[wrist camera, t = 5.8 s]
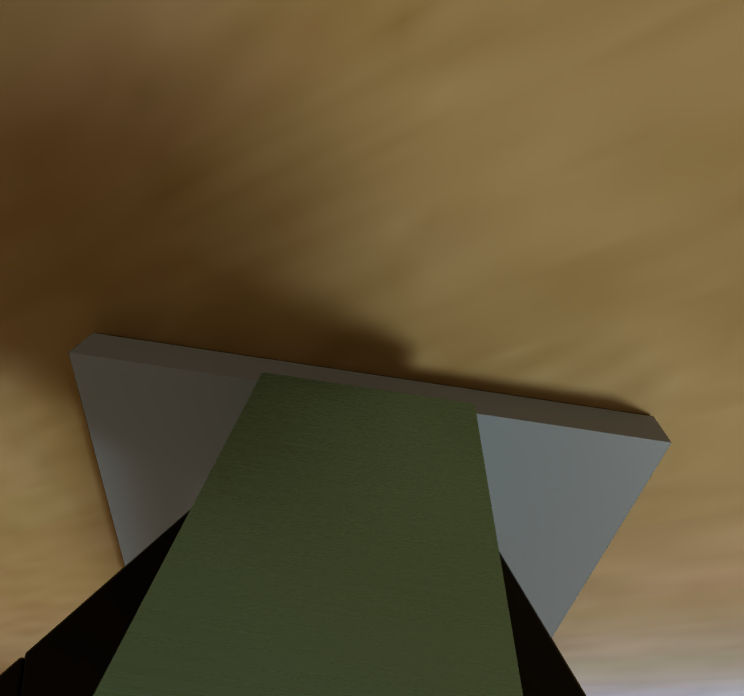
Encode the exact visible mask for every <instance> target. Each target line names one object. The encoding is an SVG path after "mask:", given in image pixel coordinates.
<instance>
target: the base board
mask: <svg viewBox="0 0 744 696" xmlns="http://www.w3.org/2000/svg"><path fill="white" fill-rule="evenodd" d="M69 356H70V360H71V364H72V367H73V371H74V375H75V379H76V383H77V386H78V390H79V394H80V398H81V401H82V405H83V409H84V413H85V417H86V420H87V424H88V428H89V432H90V435H91V439H92V443H93V447H94V451H95V454H96V458H97V462H98V466H99V470H100V473H101V477H102V481H103V485H104V488H105V492H106V496H107V500H108V504H109V507H110V511H111V515H112V519H113V522H114V526H115V530H116V534H117V538H118V541H119V545H120V549H121V553H122V556H123V560H124V564H125V566H126V565H127V564H128V563H129V562H130V561H132V560H133V559H134V558H135V557H136V556H137V555H138V554H140V553H141V552H142V551H143V550H144V549H145V548H146V547H148V546H149V545H150V544H151V543H152V542H153V541H154V540H156V539H157V538H158V537H159V536H160V535H161V534H162V533H164V532H165V531H166V530H167V529H168V528H169V527H170V526H172V525H173V524H174V523H175V522H176V521H177V520H178V519H180V518H181V517H182V516H183V515H184V514H185V513H186V512H188V511H189V510H190V509H191V508H192V506H193V504H194V502H195V500H196V498H197V496H198V494H199V492H200V491H201V489H202V487H203V485H204V483H205V481H206V479H207V477H208V475H209V473H210V471H211V469H212V468H213V466H214V464H215V462H216V460H217V458H218V456H219V454H220V452H221V450H222V448H223V447H224V445H225V443H226V441H227V439H228V437H229V435H230V433H231V431H232V429H233V427H234V426H235V424H236V422H237V420H238V418H239V416H240V414H241V412H242V410H243V408H244V406H245V405H246V403H247V401H248V399H249V397H250V395H251V393H252V391H253V389H254V387H255V385H256V383H257V382H258V380H259V378H260V376H261V374H262V372H264V373H271V374H278V375H284V376H291V377H298V378H305V379H311V380H318V381H325V382H331V383H338V384H345V385H351V386H358V387H365V388H371V389H378V390H385V391H392V392H398V393H405V394H412V395H418V396H425V397H432V398H438V399H445V400H452V401H458V402H465V403H472V404H475V409H476V415H477V421H478V427H479V433H480V439H481V445H482V451H483V457H484V463H485V469H486V475H487V481H488V487H489V493H490V499H491V505H492V511H493V518H494V524H495V530H496V536H497V542H498V548H499V551H500V553H501V555H502V556H503V558H504V560H505V561H506V563H507V565H508V566H509V568H510V570H511V571H512V573H513V575H514V576H515V578H516V580H517V581H518V583H519V585H520V586H521V588H522V590H523V591H524V593H525V595H526V596H527V598H528V600H529V601H530V603H531V605H532V606H533V608H534V610H535V611H536V613H537V615H538V616H539V618H540V620H541V621H542V623H543V625H544V626H545V628H546V630H547V631H548V633H549V635H550V636H551V638H552V637H553V635H554V633H555V632H556V630H557V628H558V627H559V625H560V624H561V622H562V620H563V619H564V617H565V615H566V614H567V612H568V610H569V609H570V607H571V606H572V604H573V602H574V601H575V599H576V597H577V596H578V594H579V593H580V591H581V589H582V588H583V586H584V584H585V583H586V581H587V579H588V578H589V576H590V575H591V573H592V571H593V570H594V568H595V566H596V565H597V563H598V562H599V560H600V558H601V557H602V555H603V553H604V552H605V550H606V548H607V547H608V545H609V544H610V542H611V540H612V539H613V537H614V535H615V534H616V532H617V531H618V529H619V527H620V526H621V524H622V522H623V521H624V519H625V517H626V516H627V514H628V513H629V511H630V509H631V508H632V506H633V504H634V503H635V501H636V500H637V498H638V496H639V495H640V493H641V491H642V490H643V488H644V486H645V485H646V483H647V482H648V480H649V478H650V477H651V475H652V473H653V472H654V470H655V469H656V467H657V465H658V464H659V462H660V460H661V459H662V457H663V455H664V454H665V452H666V451H667V449H668V447H669V446H670V444H671V441H670V440H669V438H668V437H667V436H666V434H665V433H664V431H663V430H662V428H661V427H660V425H659V424H658V422H657V421H656V419H655V418H654V416H647V415H640V414H634V413H627V412H620V411H613V410H607V409H600V408H593V407H587V406H580V405H573V404H566V403H560V402H553V401H546V400H540V399H533V398H526V397H519V396H513V395H506V394H499V393H493V392H486V391H479V390H472V389H466V388H459V387H452V386H446V385H439V384H432V383H426V382H419V381H412V380H405V379H399V378H392V377H385V376H379V375H372V374H365V373H358V372H352V371H345V370H338V369H332V368H325V367H318V366H311V365H305V364H298V363H291V362H285V361H278V360H271V359H264V358H258V357H251V356H244V355H238V354H231V353H224V352H217V351H211V350H204V349H197V348H191V347H184V346H177V345H170V344H164V343H157V342H150V341H144V340H137V339H130V338H124V337H117V336H110V335H103V334H97V333H92V334H91V335H90V336H88V337H87V338H86V339H85V340H83V341H82V342H81V343H80V344H78V345H77V346H76V347H75V348H73V349H72V350H71V351H70V352H69Z"/></svg>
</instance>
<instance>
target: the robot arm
mask: <svg viewBox="0 0 744 696" xmlns="http://www.w3.org/2000/svg"><path fill="white" fill-rule="evenodd" d="M190 510H191V509H190ZM190 510H189V511H188V512H186V513H185V514H184V515H183V516H182V517H181V518H180V519H178V520H177V521H176V522H175V523H174V524H173V525H172V526H170V527H169V528H168V529H167V530H166V531H165V532H164V533H162V534H161V535H160V536H159V537H158V538H157V539H156V540H154V541H153V542H152V543H151V544H150V545H149V546H148V547H146V548H145V549H144V550H143V551H142V552H141V553H140V554H138V555H137V556H136V557H135V558H134V559H133V560H132V561H130V562H129V563H128V564H127V565H126V566H125V567H124V568H122V569H121V570H120V571H119V572H118V573H117V574H116V575H114V576H113V577H112V578H111V579H110V580H109V581H108V582H106V583H105V584H104V585H103V586H102V587H101V588H100V589H98V590H97V591H96V592H95V593H94V594H93V595H92V596H90V597H89V598H88V599H87V600H86V601H85V602H84V603H82V604H81V605H80V606H79V607H78V608H77V609H75V610H74V611H73V612H72V613H71V614H70V615H69V616H67V617H66V618H65V619H64V620H63V621H62V622H61V623H59V624H58V625H57V626H56V627H55V628H54V629H53V630H51V631H50V632H49V633H48V634H47V635H46V636H45V637H43V638H42V639H41V640H40V641H39V642H38V643H37V644H35V645H34V646H33V647H32V648H31V649H30V650H29V651H27V652H26V654H25V659H24V658H19V659H18V660H17V661H16V662H14V663H13V664H12V665H11V666H10V667H9V668H8V669H7V670H5V671H4V672H3V673H2V674H1V675H0V696H93V695H94V693H95V691H96V689H97V687H98V685H99V684H100V682H101V680H102V678H103V676H104V674H105V672H106V670H107V668H108V666H109V664H110V663H111V661H112V659H113V657H114V655H115V653H116V651H117V649H118V647H119V645H120V643H121V641H122V640H123V638H124V636H125V634H126V632H127V630H128V628H129V626H130V624H131V622H132V620H133V619H134V617H135V615H136V613H137V611H138V609H139V607H140V605H141V603H142V601H143V599H144V598H145V596H146V594H147V592H148V590H149V588H150V586H151V584H152V582H153V580H154V578H155V577H156V575H157V573H158V571H159V569H160V567H161V565H162V563H163V561H164V559H165V557H166V555H167V554H168V552H169V550H170V548H171V546H172V544H173V542H174V540H175V538H176V536H177V534H178V533H179V531H180V529H181V527H182V525H183V523H184V521H185V519H186V517H187V515H188V513H189V512H190ZM499 554H500V560H501V566H502V572H503V578H504V584H505V590H506V596H507V602H508V608H509V614H510V620H511V626H512V632H513V638H514V644H515V650H516V656H517V662H518V668H519V674H520V680H521V686H522V693H523V696H586V694H585V693H584V691H583V689H582V688H581V686H580V684H579V683H578V681H577V679H576V678H575V676H574V674H573V673H572V671H571V669H570V668H569V666H568V664H567V663H566V661H565V659H564V658H563V656H562V654H561V653H560V651H559V650H558V648H557V646H556V645H555V643H554V641H553V640H552V638H551V636H550V635H549V633H548V631H547V630H546V628H545V626H544V625H543V623H542V621H541V620H540V618H539V616H538V615H537V613H536V611H535V610H534V608H533V606H532V605H531V603H530V601H529V600H528V598H527V596H526V595H525V593H524V591H523V590H522V588H521V586H520V585H519V583H518V581H517V580H516V578H515V576H514V575H513V573H512V571H511V570H510V568H509V566H508V565H507V563H506V561H505V560H504V558H503V556H502V555H501V553H500V551H499Z"/></svg>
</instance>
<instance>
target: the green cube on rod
mask: <svg viewBox="0 0 744 696" xmlns="http://www.w3.org/2000/svg"><path fill="white" fill-rule="evenodd" d="M93 696H523V693H522V686H521V680H520V674H519V668H518V662H517V656H516V650H515V644H514V638H513V632H512V626H511V620H510V614H509V608H508V602H507V596H506V590H505V584H504V578H503V572H502V566H501V560H500V554H499V548H498V542H497V536H496V530H495V524H494V518H493V511H492V505H491V499H490V493H489V487H488V481H487V475H486V469H485V463H484V457H483V451H482V445H481V439H480V433H479V427H478V421H477V415H476V409H475V404H472V403H465V402H458V401H452V400H445V399H438V398H432V397H425V396H418V395H412V394H405V393H398V392H392V391H385V390H378V389H371V388H365V387H358V386H351V385H345V384H338V383H331V382H325V381H318V380H311V379H305V378H298V377H291V376H284V375H278V374H271V373H264V372H262V374H261V376H260V378H259V380H258V382H257V383H256V385H255V387H254V389H253V391H252V393H251V395H250V397H249V399H248V401H247V403H246V405H245V406H244V408H243V410H242V412H241V414H240V416H239V418H238V420H237V422H236V424H235V426H234V427H233V429H232V431H231V433H230V435H229V437H228V439H227V441H226V443H225V445H224V447H223V448H222V450H221V452H220V454H219V456H218V458H217V460H216V462H215V464H214V466H213V468H212V469H211V471H210V473H209V475H208V477H207V479H206V481H205V483H204V485H203V487H202V489H201V491H200V492H199V494H198V496H197V498H196V500H195V502H194V504H193V506H192V508H191V510H190V512H189V513H188V515H187V517H186V519H185V521H184V523H183V525H182V527H181V529H180V531H179V533H178V534H177V536H176V538H175V540H174V542H173V544H172V546H171V548H170V550H169V552H168V554H167V555H166V557H165V559H164V561H163V563H162V565H161V567H160V569H159V571H158V573H157V575H156V577H155V578H154V580H153V582H152V584H151V586H150V588H149V590H148V592H147V594H146V596H145V598H144V599H143V601H142V603H141V605H140V607H139V609H138V611H137V613H136V615H135V617H134V619H133V620H132V622H131V624H130V626H129V628H128V630H127V632H126V634H125V636H124V638H123V640H122V641H121V643H120V645H119V647H118V649H117V651H116V653H115V655H114V657H113V659H112V661H111V663H110V664H109V666H108V668H107V670H106V672H105V674H104V676H103V678H102V680H101V682H100V684H99V685H98V687H97V689H96V691H95V693H94V695H93Z"/></svg>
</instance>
